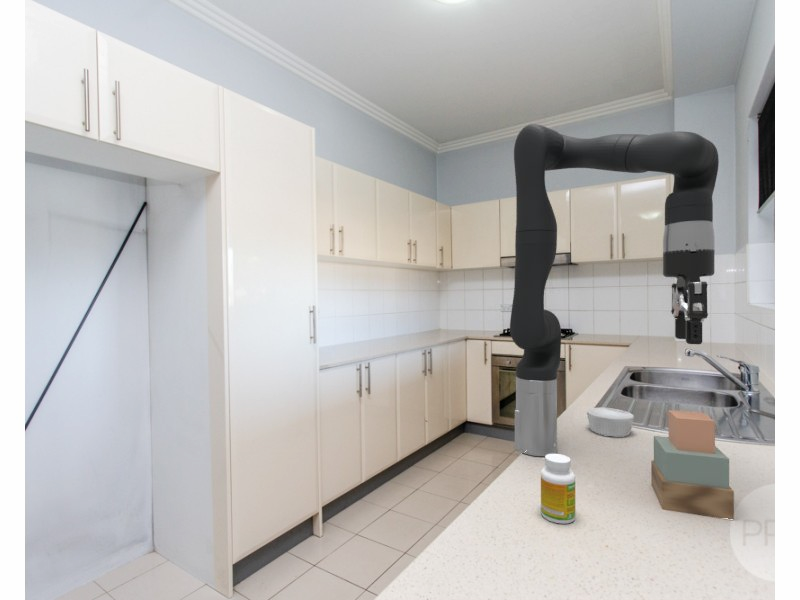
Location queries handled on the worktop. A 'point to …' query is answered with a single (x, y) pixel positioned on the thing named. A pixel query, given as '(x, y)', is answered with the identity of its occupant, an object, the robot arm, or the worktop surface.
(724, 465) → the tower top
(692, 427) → the terracotta cube
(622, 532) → the worktop surface
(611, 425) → the ramekin
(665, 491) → the tower base
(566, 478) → the supplement bottle
